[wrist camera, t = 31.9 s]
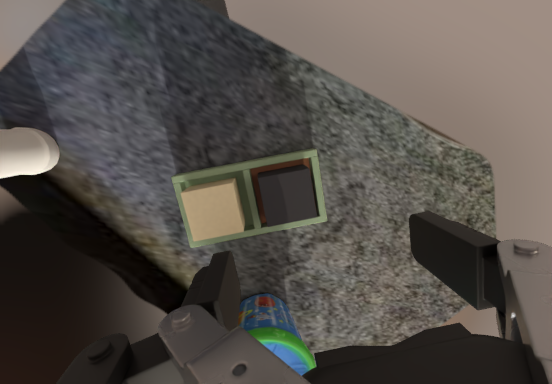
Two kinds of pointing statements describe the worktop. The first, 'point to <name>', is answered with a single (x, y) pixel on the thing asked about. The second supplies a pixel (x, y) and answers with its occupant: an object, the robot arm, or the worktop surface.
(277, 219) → the dark gray block
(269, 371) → the robot arm
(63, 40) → the worktop surface
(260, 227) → the frame
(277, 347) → the snack cup
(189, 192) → the foam pad
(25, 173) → the bottle
